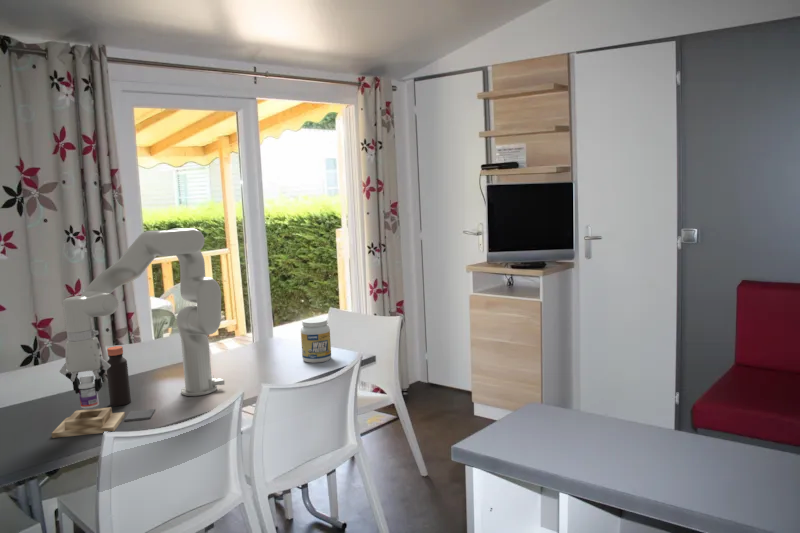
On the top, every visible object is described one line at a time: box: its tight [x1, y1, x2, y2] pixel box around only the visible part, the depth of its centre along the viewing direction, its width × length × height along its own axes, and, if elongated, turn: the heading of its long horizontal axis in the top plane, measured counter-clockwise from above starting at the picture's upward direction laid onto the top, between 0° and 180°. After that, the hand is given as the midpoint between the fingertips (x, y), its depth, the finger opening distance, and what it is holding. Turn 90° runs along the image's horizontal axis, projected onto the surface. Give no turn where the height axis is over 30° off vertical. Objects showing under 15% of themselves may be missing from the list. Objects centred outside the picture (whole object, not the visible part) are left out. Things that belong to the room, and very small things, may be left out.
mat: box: [123, 408, 156, 422], centre depth 219 cm, size 8×8×1 cm
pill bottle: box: [78, 374, 100, 410], centre depth 210 cm, size 5×5×10 cm
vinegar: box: [106, 345, 132, 407], centre depth 232 cm, size 7×7×20 cm
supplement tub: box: [300, 317, 332, 364], centre depth 278 cm, size 12×12×17 cm
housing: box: [51, 406, 126, 439], centre depth 211 cm, size 18×14×4 cm
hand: (88, 390), depth 210 cm, fingers closed on pill bottle, 5 cm apart
